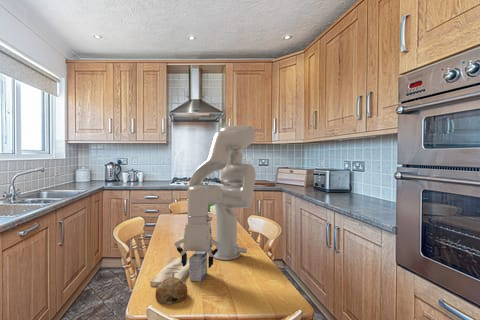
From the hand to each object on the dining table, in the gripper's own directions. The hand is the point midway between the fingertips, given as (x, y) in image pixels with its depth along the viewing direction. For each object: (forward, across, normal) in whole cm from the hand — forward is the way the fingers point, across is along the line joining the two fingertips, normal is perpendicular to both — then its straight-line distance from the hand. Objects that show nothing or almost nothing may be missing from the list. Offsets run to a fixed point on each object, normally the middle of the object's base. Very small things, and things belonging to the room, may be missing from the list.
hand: (197, 265), depth 111 cm
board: (+4, +10, -4) cm, 11 cm away
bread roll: (+5, +5, +15) cm, 16 cm away
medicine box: (+5, 0, -1) cm, 5 cm away
